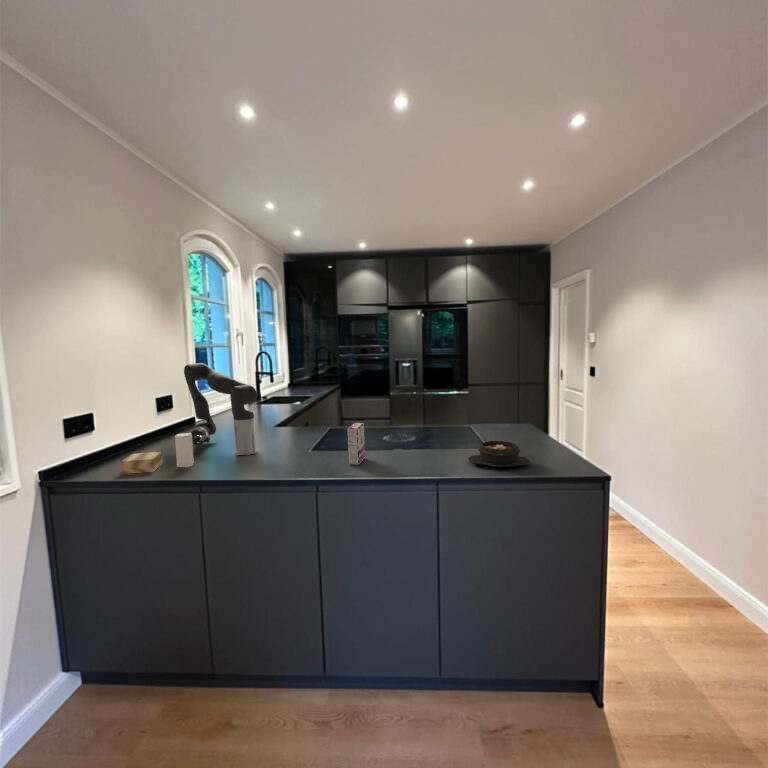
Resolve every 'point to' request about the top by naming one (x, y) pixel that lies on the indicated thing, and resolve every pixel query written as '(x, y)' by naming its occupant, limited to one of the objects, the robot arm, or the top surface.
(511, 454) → the casserole
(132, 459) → the oak block
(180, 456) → the off-white column
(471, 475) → the top surface
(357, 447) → the candy bar box
